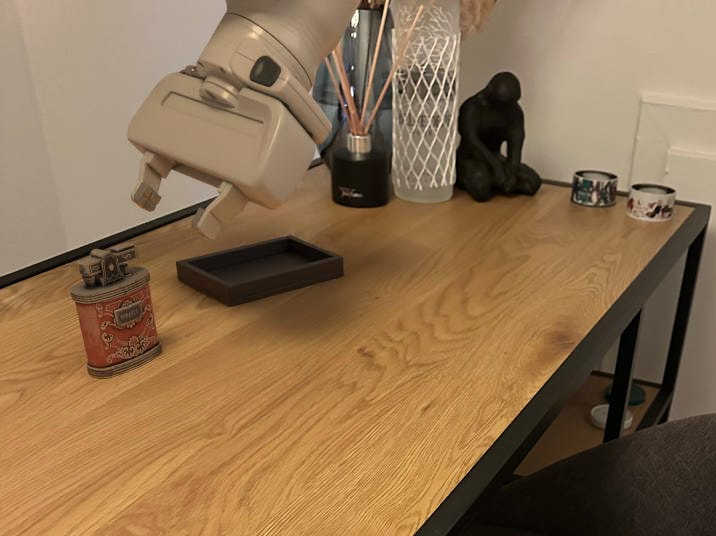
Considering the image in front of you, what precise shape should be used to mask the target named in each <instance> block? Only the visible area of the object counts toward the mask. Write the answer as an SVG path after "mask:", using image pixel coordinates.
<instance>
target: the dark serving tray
mask: <svg viewBox="0 0 716 536" xmlns="http://www.w3.org/2000/svg"><path fill="white" fill-rule="evenodd" d="M344 261H345V260H344V257H343V256H341V255H339V254H337V253H335V252H332V251H330V250H327V249H325V248H323V247H320V246H317V245H316V244H312V243H310V242H309V241H306V240H304V239H301V238H298V237H297V236H294V235H292V234H289V235H284V236H280V237H275V238H271V239H267V240H263V241H262V240H261V241H258V242H254V243H249V244H245V245H240V246H236V247H232V248H227V249H224V250H219V251H214V252H211V253H206V254H202V255H197V256H193V257H189V258H185V259H179V260H176V261H175V268H176V275H177V281H178V282H181V283H182V284H184V285H185V286H188V287H190V288H192V289H193V290H196V291H197V292H199V293H202V294H203V295H206V296H208V297H210V298H212V299H213V300H216V301H218V302H219V303H222V304H223V305H226V306H228V307H230V308H231V307H236V306H238V305H243V304H247V303H249V302H254V301H256V300H260V299H264V298H268V297H272V296H275V295H278V294H279V295H280V294H282V293H286V292H290V291H293V290H297V289H301V288H305V287H308V286H311V285H315V284H319V283H322V282H326V281H330V280H332V279H337V278H341V277H344V276H345V265H344V264H345V263H344Z"/></svg>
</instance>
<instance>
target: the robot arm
mask: <svg viewBox="0 0 716 536" xmlns="http://www.w3.org/2000/svg"><path fill="white" fill-rule="evenodd" d="M224 1H225V4H226V11H225V13H224V14H223V16H222V18H221V20H220V21H219V23H218V25H217V26H216V28H215V30H214V32H213V33H212V34H211V37H210V38H209V40H208V42H207V43H206V45H205V46H204V48H203V50H202V52H201V53H200V55H199V57H198V58H197V60H196V64H195V65H192V64H190V65H186V66H185V68H183V69H181V70H179V71H175V72H171V73H169V74H166V75H165V76H164V77H163V78H162V79H160V80H159V81H158V82H157V84H156V85H155V86H154V87H153V88H152V90H151V91H150V93H149V94H148V95H147V97H146V98H145V100H144V101H143V102H142V104H141V105H140V107H139V108H138V109H137V111H136V112H135V114H134V116H133V117H132V119H131V120H130V122H129V124H128V128H127V134H126V136H127V137H126V139H127V141H128V142H129V143H130V144H131V145H132V146H133V147H134V148H135V149H137V151H138V152H140V153H141V154H142V155H143V156H142V158H141V159H140V162H139V170H138V177H137V180H138V181H137V183H136V185H135V186H134V188H133V190H132V191H131V193H130V200H131V201H132V202H133V203H134V204H135V205H136V206H138V207H139V208H140V209H142V210H144V211H147V212H150V213H152V212H154V211H155V210H156V208H157V205H158V204H159V203H160V202H161V200H162V198H163V197H162V195H160V194H159V191H160V186H161V184H162V179H165V180H166V179H167V178H168V177H169V175H170V173H171V171H174V172H177V173H179V174H182V175H184V176H186V177H189V178H191V179H193V180H195V181H199V182H201V183H204V184H206V185H209V186H211V187H213V188H216V189H217V193H218V195H217V197H215V198H214V199H213V201H211V203H209V204H208V205H207V206H206V208H202V207H198V209H197V211H196V212H195V214H194V215H195V216H194V217H193V218H192V219H191V221H190V226H191V228H192V229H193V230H194V231H195V232H197V233H198V234H199V235H200V236H202V237H205V238H206V239H209V240H215V239H216V237H217V236H218V234H219V233H220V231H221V229H222V227H223V226H224V225H225V224H227V223H228V222H230V221H231V220H232V219H234V218H236V217H237V216H238V215H239V214H241V213H243V211H244V210H245V208H246V206H247V205H248V203H249V202H250V203H252V204H255V205H258V206H260V207H262V208H265V209H267V210H270V211H275V210H277V209H278V208H280V207H282V206H284V205H285V204H286V203H288V201H289V200H290V198H291V197H292V196H293V194H294V193H295V191H296V189H297V188H298V187H299V186H300V183H301V182H302V180H303V179H304V176H305V175H306V173H307V171H308V169H309V167H310V166H311V164H312V162H313V160H314V158H315V155H316V151H317V150H316V145H317V144H318V145H319V144H322V143H324V142H325V141H326V140H327V138H328V137H329V135H330V133H331V131H332V130H333V124H332V122H331V121H330V119H329V118H328V117H327V115H326V113H325V112H324V111H323V109H322V108H321V107H320V105H319V104H318V103H317V101H316V100H315V99H314V98H313V96H312V95H311V94H310V92H311V90H312V89H313V87H314V84H315V81H316V76H317V73H318V70H319V68H320V66H321V64H322V63H323V61H324V60H325V59H326V58H327V57H328V56H329V55H330V54H331V53H333V52H334V51H335V49H336V48H337V46H338V45H339V43H340V41H341V40H342V38H343V36H344V34H345V33H346V31H347V30H348V28H349V25H350V23H351V22H352V20H353V17H354V16H355V14H356V12H357V10H358V7H359V6H360V4H361V1H362V0H224Z"/></svg>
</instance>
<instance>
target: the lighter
mask: <svg viewBox="0 0 716 536" xmlns="http://www.w3.org/2000/svg"><path fill="white" fill-rule="evenodd" d="M139 257H140V256H139V253H138V246H137V245H135V243H133V242H128V241H127V242H124V243H121V244H118V245H115V246H112V247H109V250H103V249H99V248H94V249H91V250H90V253H89V256H88V257H86V258H83V259H80V260H78V261H77V267H78V271H79V274H80V275H81V277H82V280H83V281H81V282H79V283H77V284H74V285H73V286H71V287H70V288H69V292H70V296H71V300H72V301H73V302H74V303H75V309H76V312H77V318H78V323H79V327H80V332H81V336H82V341H83V345H84V350H85V355H86V360H87V361H86V362H85V363H86V364H85V365H86V369H87V374H88V375H89V376H90V377H93V378H96V379H109V378H112V377H113V378H114V377H117V376H119V375H122V374H125V373H128V372H130V371H133V370H135V369H137V368H140V367H141V366H143V365H145V364H147V363H149V362H151V361H153V360H154V359H155V358H157V357H158V356H160V355H162V354H163V347H162V342H161V341H160V339H159V336H158V330H157V323H156V318H155V312H154V305H153V300H152V294H151V286H150V282H151V274H150V270H149V269H148V268H146V267H143V266H135V265H133V266H130V265H129V264H128V263H131V262H133V261H136V260H138V259H139Z"/></svg>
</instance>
